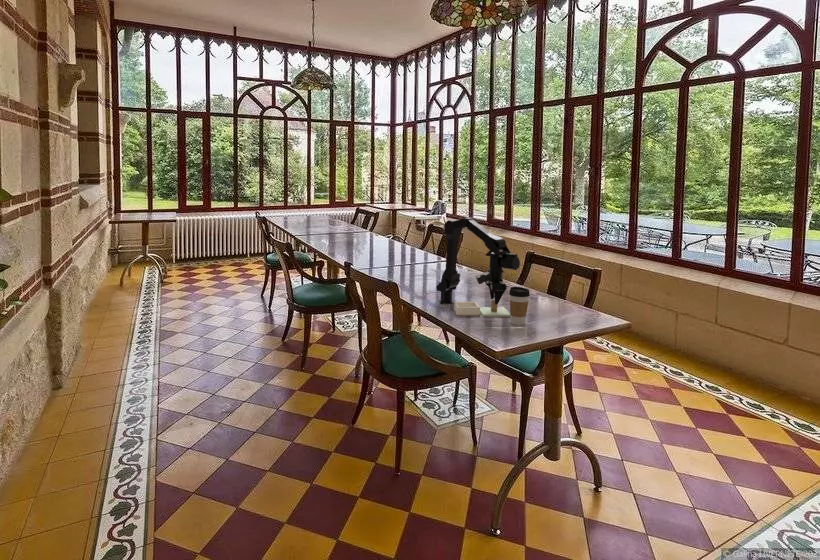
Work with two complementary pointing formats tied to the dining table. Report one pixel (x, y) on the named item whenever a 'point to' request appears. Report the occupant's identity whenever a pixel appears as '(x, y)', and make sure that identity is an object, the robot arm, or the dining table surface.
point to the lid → (494, 311)
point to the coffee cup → (518, 304)
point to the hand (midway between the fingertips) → (494, 301)
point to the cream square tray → (467, 308)
